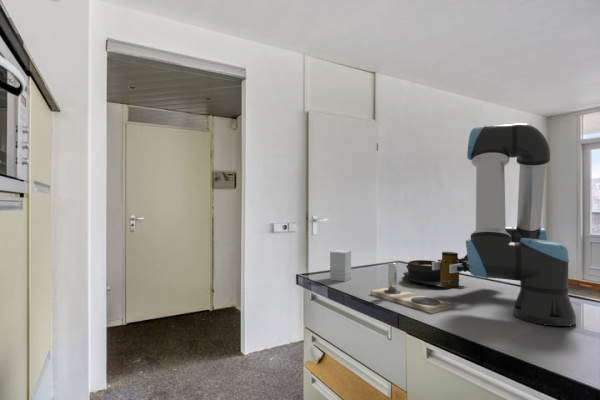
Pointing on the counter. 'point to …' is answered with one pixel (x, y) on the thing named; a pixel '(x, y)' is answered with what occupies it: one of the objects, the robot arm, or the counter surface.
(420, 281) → the casserole
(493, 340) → the counter surface
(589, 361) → the counter surface
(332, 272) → the supplement box
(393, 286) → the steel post
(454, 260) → the condiment
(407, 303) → the board
